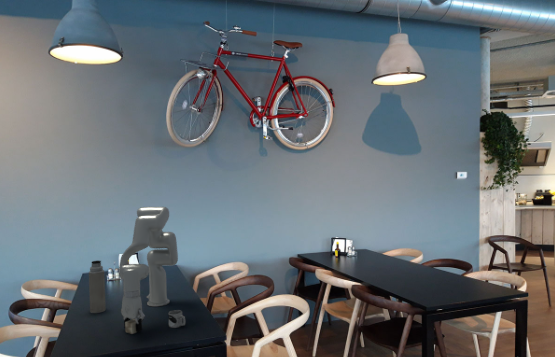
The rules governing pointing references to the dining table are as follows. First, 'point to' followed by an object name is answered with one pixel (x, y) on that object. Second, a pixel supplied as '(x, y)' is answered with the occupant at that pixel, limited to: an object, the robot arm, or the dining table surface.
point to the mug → (176, 319)
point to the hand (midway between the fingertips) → (133, 329)
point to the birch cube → (130, 326)
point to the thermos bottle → (97, 287)
